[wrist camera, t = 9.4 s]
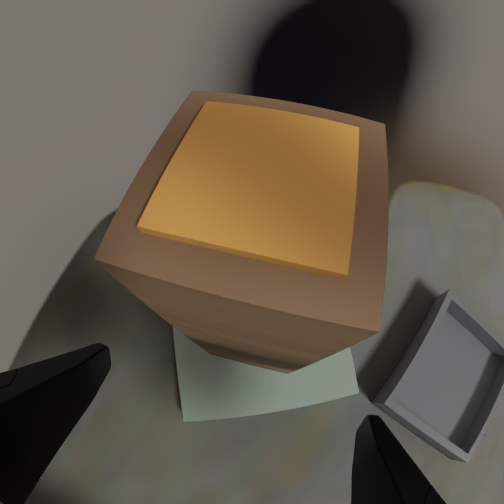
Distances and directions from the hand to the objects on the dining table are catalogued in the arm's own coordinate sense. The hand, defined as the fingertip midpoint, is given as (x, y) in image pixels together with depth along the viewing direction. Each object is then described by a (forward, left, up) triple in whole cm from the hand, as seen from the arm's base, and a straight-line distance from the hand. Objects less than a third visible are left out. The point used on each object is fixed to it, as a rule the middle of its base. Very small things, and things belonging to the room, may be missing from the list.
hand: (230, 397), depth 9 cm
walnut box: (+3, +2, -7) cm, 8 cm away
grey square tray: (+10, -10, -8) cm, 16 cm away
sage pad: (+3, +2, -8) cm, 9 cm away
